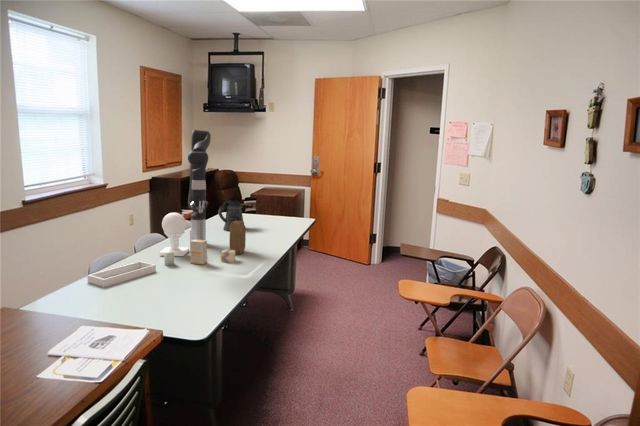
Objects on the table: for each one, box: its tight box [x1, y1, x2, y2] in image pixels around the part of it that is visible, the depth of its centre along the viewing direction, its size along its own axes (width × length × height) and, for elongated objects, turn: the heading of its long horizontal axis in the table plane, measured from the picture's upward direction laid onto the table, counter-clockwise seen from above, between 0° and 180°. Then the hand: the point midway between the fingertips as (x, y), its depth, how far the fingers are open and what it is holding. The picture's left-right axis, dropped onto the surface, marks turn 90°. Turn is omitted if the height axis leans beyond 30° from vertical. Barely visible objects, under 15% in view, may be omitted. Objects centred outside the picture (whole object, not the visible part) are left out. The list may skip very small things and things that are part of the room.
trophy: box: [158, 212, 190, 257], centre depth 248 cm, size 14×14×25 cm
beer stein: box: [217, 198, 246, 233], centre depth 311 cm, size 16×19×25 cm
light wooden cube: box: [220, 248, 236, 264], centre depth 238 cm, size 6×6×6 cm
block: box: [229, 220, 247, 255], centre depth 255 cm, size 11×8×20 cm
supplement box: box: [189, 239, 208, 266], centre depth 230 cm, size 8×5×13 cm, turn 71°
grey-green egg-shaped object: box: [163, 251, 175, 267], centre depth 226 cm, size 5×5×7 cm
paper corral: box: [86, 260, 157, 288], centre depth 204 cm, size 12×29×4 cm, turn 152°
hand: (199, 219), depth 228 cm, fingers closed
